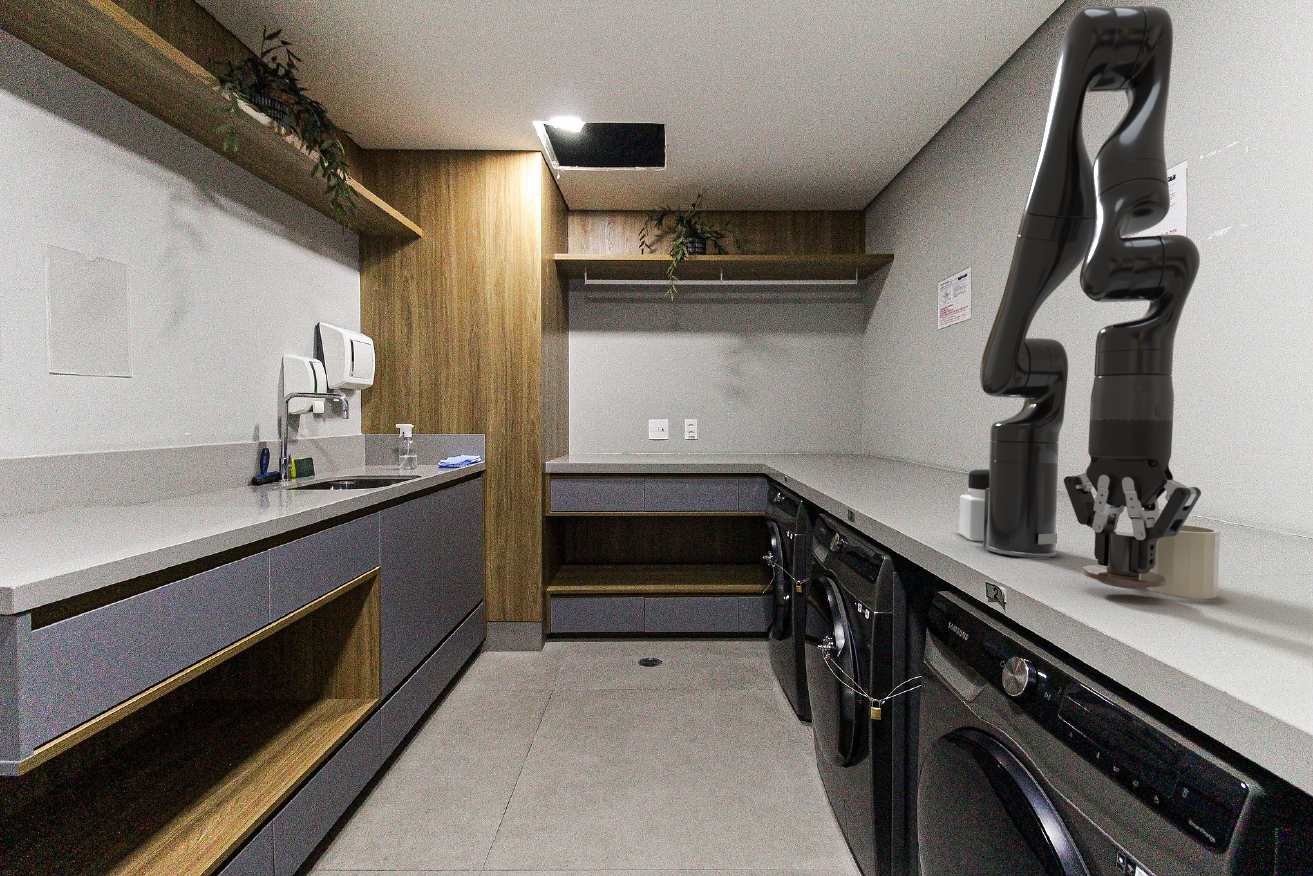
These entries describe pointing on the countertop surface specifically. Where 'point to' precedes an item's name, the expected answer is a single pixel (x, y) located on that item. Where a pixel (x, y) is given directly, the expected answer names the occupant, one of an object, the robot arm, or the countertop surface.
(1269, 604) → the countertop surface
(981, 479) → the medicine bottle
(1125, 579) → the lid
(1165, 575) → the canister
